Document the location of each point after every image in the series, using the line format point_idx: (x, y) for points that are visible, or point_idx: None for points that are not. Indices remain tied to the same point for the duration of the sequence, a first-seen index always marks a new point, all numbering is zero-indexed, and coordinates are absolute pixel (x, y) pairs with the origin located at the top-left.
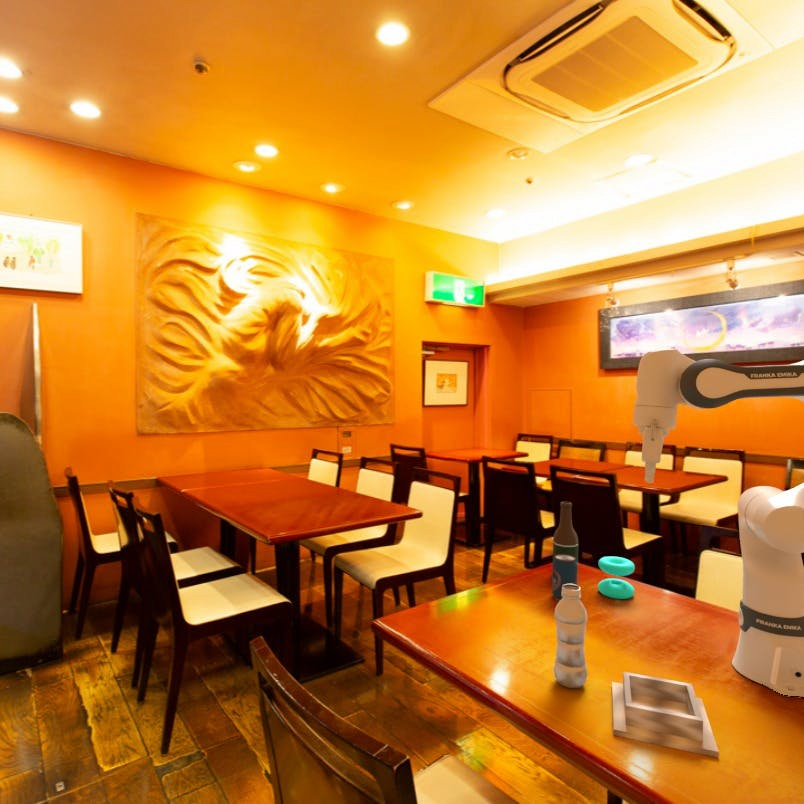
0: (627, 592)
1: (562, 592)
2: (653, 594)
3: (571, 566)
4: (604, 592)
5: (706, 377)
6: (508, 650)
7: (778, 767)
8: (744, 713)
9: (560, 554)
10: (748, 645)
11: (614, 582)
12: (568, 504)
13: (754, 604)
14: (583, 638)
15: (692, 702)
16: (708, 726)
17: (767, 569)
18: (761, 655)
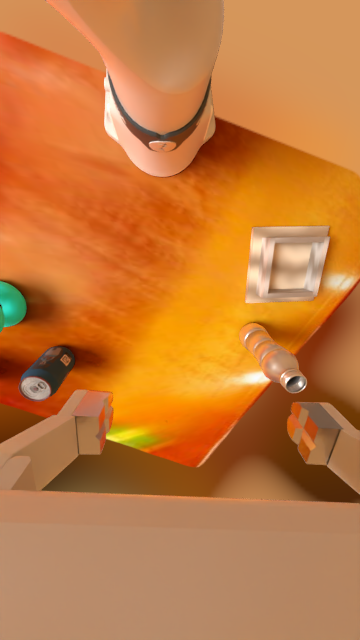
0: (12, 290)
1: (295, 388)
2: None
3: (51, 375)
4: (23, 317)
5: None
6: (210, 381)
7: (331, 178)
8: (258, 188)
9: (24, 396)
10: (182, 151)
11: None
12: None
13: (192, 114)
14: (275, 342)
15: (303, 241)
16: (297, 228)
17: (205, 29)
18: (196, 138)
